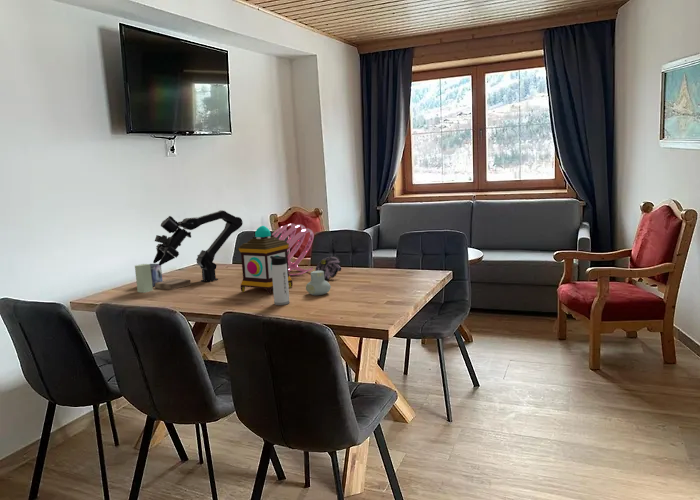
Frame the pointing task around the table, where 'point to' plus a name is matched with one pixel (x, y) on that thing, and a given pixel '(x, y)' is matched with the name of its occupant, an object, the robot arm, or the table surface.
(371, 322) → the table surface
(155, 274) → the small box
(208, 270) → the robot arm
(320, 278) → the air freshener
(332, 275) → the decorative flower
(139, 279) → the sage block
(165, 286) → the block
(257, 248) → the decorative lantern
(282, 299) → the travel mug
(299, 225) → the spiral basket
